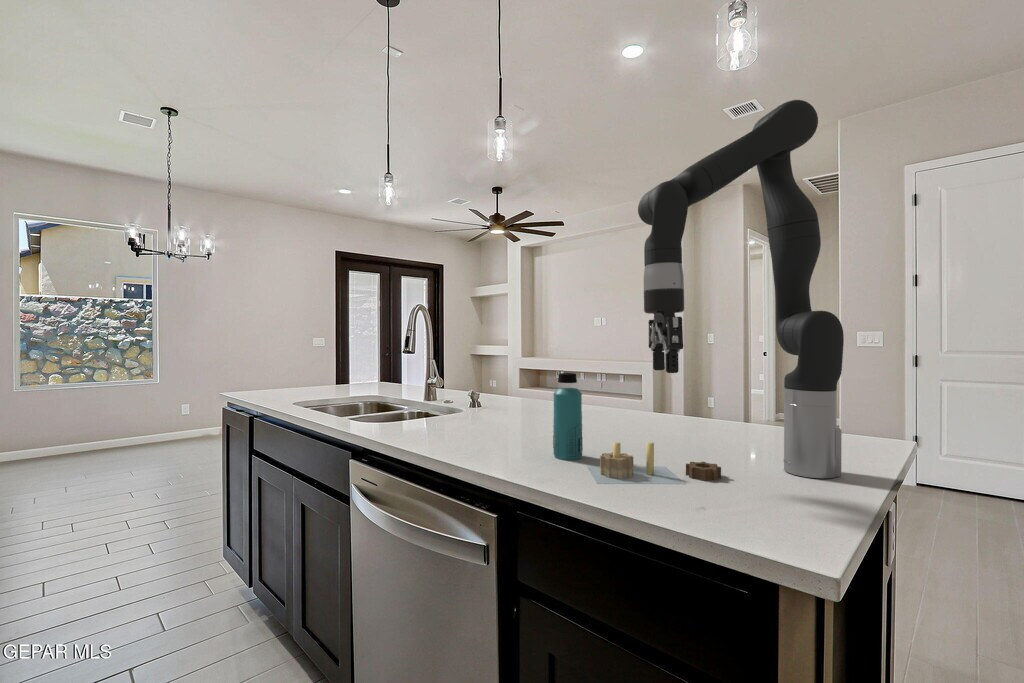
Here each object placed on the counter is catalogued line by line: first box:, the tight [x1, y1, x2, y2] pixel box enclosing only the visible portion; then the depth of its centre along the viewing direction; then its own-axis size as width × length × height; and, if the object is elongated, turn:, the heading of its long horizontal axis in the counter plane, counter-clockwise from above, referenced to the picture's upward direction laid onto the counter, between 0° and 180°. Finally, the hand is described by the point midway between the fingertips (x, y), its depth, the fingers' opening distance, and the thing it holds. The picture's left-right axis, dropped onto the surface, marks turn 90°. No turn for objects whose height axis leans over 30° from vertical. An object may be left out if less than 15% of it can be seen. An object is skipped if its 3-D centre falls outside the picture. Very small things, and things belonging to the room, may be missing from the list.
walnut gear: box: [685, 461, 722, 482], centre depth 92 cm, size 6×6×4 cm
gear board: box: [586, 441, 687, 485], centre depth 93 cm, size 16×12×8 cm
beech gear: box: [599, 451, 634, 479], centre depth 93 cm, size 6×6×4 cm
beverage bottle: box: [552, 372, 584, 461], centre depth 107 cm, size 6×7×20 cm
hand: (665, 371), depth 95 cm, fingers open, 8 cm apart
